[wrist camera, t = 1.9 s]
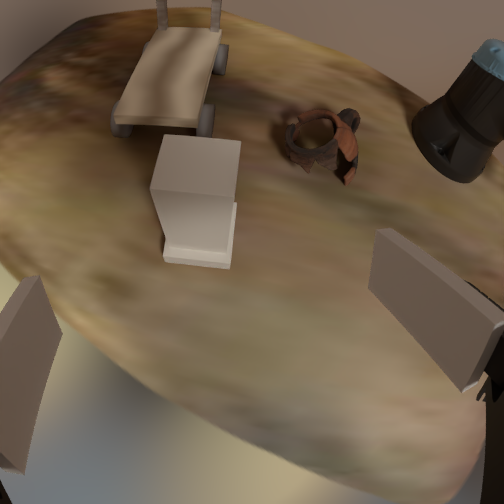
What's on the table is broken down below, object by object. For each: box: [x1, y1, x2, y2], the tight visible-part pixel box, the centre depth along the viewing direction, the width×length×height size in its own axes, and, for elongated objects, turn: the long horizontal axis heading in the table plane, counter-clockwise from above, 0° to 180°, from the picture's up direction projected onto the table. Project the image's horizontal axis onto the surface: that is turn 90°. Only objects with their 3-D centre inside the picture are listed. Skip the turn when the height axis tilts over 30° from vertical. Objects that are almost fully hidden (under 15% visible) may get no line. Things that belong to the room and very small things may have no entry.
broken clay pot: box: [285, 108, 360, 186], centre depth 39 cm, size 12×10×8 cm
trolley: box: [110, 0, 229, 138], centre depth 33 cm, size 13×20×19 cm, turn 175°
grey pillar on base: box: [150, 134, 241, 269], centre depth 29 cm, size 7×7×14 cm
